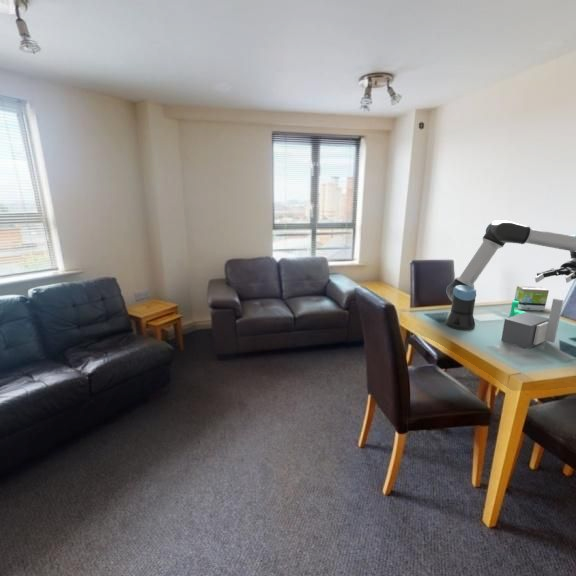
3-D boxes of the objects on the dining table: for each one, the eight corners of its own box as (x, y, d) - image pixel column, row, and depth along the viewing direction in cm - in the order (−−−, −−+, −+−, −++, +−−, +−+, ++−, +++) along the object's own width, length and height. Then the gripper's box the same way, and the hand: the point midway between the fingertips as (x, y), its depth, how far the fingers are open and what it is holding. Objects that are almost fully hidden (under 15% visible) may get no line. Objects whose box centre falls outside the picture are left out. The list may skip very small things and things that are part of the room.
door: (544, 347, 156) (553, 303, 150) (533, 344, 160) (541, 301, 154) (554, 343, 161) (563, 300, 155) (543, 339, 165) (551, 298, 159)
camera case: (527, 348, 158) (531, 326, 155) (501, 340, 168) (504, 318, 165) (546, 340, 168) (550, 318, 165) (520, 332, 178) (524, 312, 175)
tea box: (520, 310, 217) (524, 289, 213) (512, 305, 226) (516, 285, 223) (545, 311, 214) (549, 289, 210) (536, 306, 224) (540, 286, 220)
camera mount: (524, 320, 197) (527, 304, 195) (509, 318, 202) (512, 302, 199) (524, 315, 206) (527, 300, 204) (510, 313, 211) (513, 298, 208)
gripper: (602, 273, 163) (582, 287, 155) (546, 274, 185) (525, 286, 177) (600, 259, 162) (579, 272, 153) (544, 261, 184) (523, 273, 176)
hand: (550, 280), depth 165 cm, fingers open, 13 cm apart
